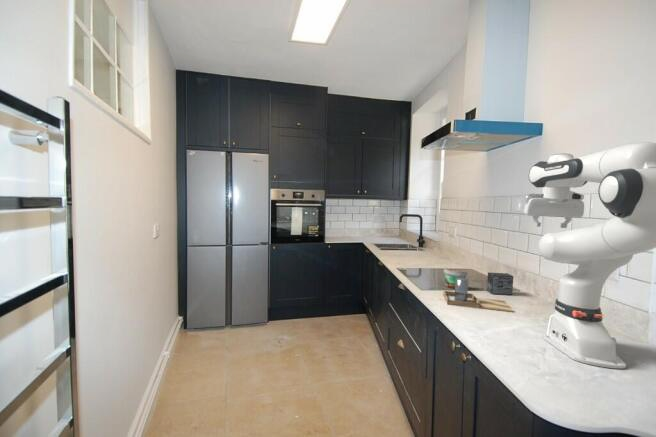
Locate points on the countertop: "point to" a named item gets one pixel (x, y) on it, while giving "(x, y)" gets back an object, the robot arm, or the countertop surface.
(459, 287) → the slate tin
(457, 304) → the wooden tray board
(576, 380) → the countertop surface
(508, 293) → the small box
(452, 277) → the food container
